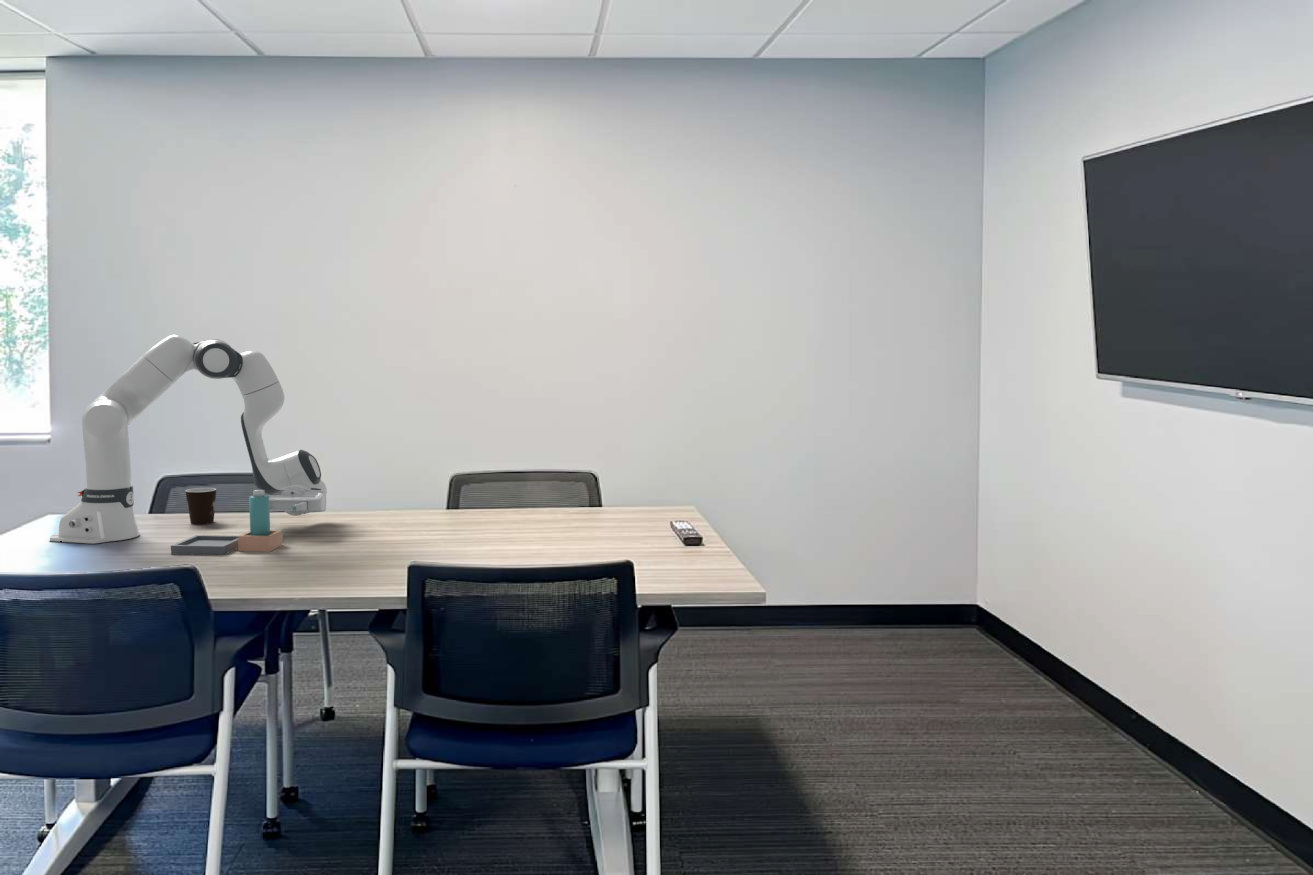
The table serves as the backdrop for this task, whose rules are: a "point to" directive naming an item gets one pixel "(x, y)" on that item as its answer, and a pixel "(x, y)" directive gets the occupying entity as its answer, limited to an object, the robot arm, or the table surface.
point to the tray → (206, 545)
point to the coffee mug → (201, 505)
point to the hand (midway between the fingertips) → (278, 508)
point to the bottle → (259, 514)
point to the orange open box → (260, 541)
